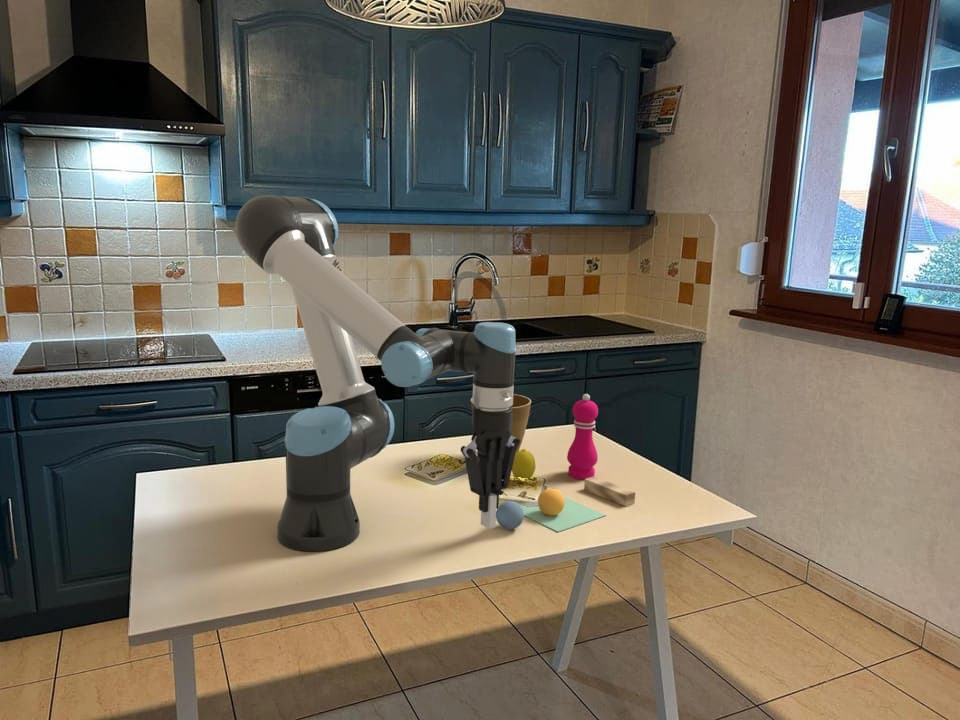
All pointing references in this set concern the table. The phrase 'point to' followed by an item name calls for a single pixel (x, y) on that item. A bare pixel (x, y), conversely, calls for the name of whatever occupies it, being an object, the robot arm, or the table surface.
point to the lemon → (523, 464)
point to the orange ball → (551, 502)
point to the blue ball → (509, 515)
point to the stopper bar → (609, 491)
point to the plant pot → (518, 416)
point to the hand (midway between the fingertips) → (488, 525)
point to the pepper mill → (583, 440)
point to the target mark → (563, 516)
